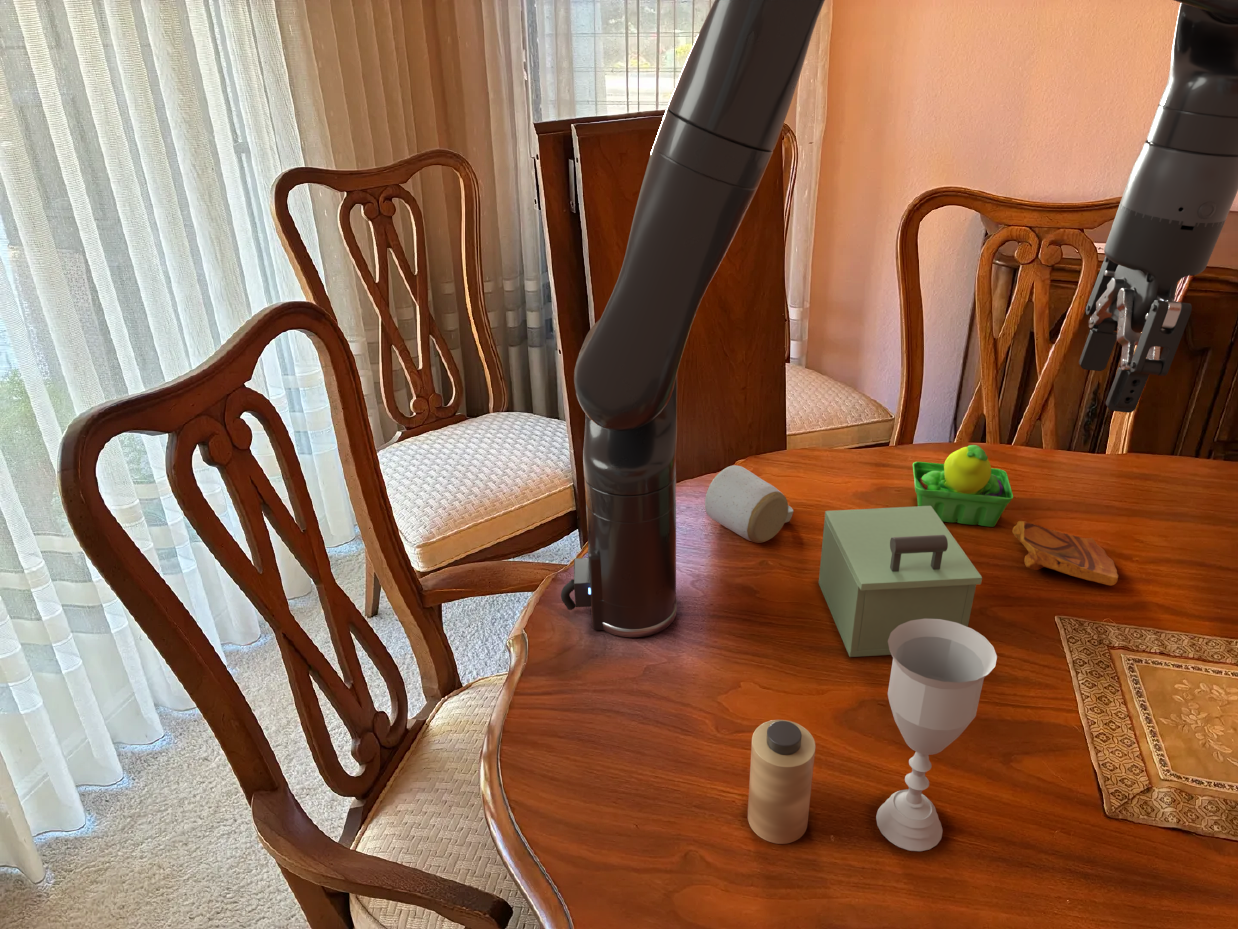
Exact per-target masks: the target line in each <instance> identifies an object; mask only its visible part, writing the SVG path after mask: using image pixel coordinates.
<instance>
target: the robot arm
mask: <svg viewBox="0 0 1238 929" xmlns="http://www.w3.org/2000/svg"><path fill="white" fill-rule="evenodd" d="M825 1H826V0H714V1H713V2H712V5H711V8H710V9H709V11H708V13H707V15H706V17H705V19H704V22H703V23H702V26H701V28H700V30H699V32H698V34H697V36H696V38H695V40H694V43H693V45H692V48H691V50H690V52H689V54H688V56H687V58H686V60H685V62H684V65H683V68H682V70H681V73H680V74H679V77H678V79H677V82H676V84H675V88H674V90H673V92H672V94H671V97H670V99H669V102H668V105H667V108H666V110H665V112H664V115H663V117H662V121H661V124H660V126H659V129H658V131H657V135H656V137H655V140H654V143H653V145H652V149H651V151H650V155H649V158H648V162H647V165H646V169H645V172H644V175H643V179H642V183H641V187H640V190H639V194H638V198H637V201H636V206H635V210H634V213H633V217H632V218H633V219H632V222H631V226H630V232H629V236H628V240H627V245H626V250H625V253H624V254H625V255H624V258H623V262H622V266H621V268H620V271H619V274H618V277H617V280H616V283H615V285H614V287H613V290H612V292H611V295H610V296H609V299H608V301H607V303H606V305H605V308H604V310H603V312H602V314H601V317H600V318H599V319H598V320H597V321H596V322H595V323H594V324H593V325H592V327H591V328H590V329H589V331H588V332H587V334H586V336H585V338H584V341H583V343H582V345H581V349H580V350H579V353H578V356H577V358H576V362H575V365H574V366H575V367H574V372H573V383H574V389H575V395H576V399H577V401H578V404H579V405H580V407H581V409H582V411H583V412H584V413H585V414H584V415H585V423H584V439H583V450H582V461H583V462H582V464H583V477H584V491H585V492H584V493H585V511H586V530H587V557H580V558H579V557H578V558H574V559H573V578H572V579H571V580H569V581H568V582H567V583H566V584H565V585H564V586H563V588H561V592H560V598H561V601H562V603H563V604H564V606H565V607H566V608H567V610H568V611H572V610H574V609H575V608H587V607H588V608H590V612H591V626H592V630H593V631H604V632H607V633H609V634H611V635H614V636H618V637H622V638H642V637H648V636H651V635H655V634H658V633H660V632H662V631H664V630H665V629H667V628H668V627H669V626H670V625H671V624H672V623H673V622H674V620H675V619H676V617H677V613H678V599H677V449H678V448H677V446H678V445H677V444H678V371H679V369H680V364H681V361H682V358H683V354H684V351H685V348H686V345H687V341H688V338H689V335H690V332H691V329H692V325H693V323H694V320H695V317H696V315H697V312H698V309H699V307H700V305H701V302H702V300H703V297H704V296H705V293H706V292H707V290H708V287H709V286H710V283H711V282H712V280H713V278H714V276H715V275H716V273H717V271H718V269H719V267H720V265H721V264H722V262H723V260H724V258H725V257H726V254H727V252H728V251H729V248H730V246H731V244H732V242H733V241H734V239H735V236H736V234H737V232H738V230H739V228H740V226H741V224H742V222H743V221H744V218H745V216H746V214H747V211H748V209H749V207H750V205H751V204H752V202H753V199H754V197H755V195H756V192H757V190H758V188H759V186H760V184H761V181H762V179H763V176H764V174H765V172H766V169H767V167H768V164H769V163H770V160H771V157H772V156H773V154H774V150H775V148H776V145H777V143H778V141H779V138H780V135H781V132H782V131H783V130H782V129H783V127H784V124H785V122H786V118H787V116H788V113H789V110H790V107H791V104H792V102H793V100H794V96H795V92H796V89H797V87H798V84H799V80H800V77H801V74H802V70H803V67H804V64H805V60H806V57H807V54H808V51H809V47H810V43H811V41H812V40H811V39H812V37H813V33H814V31H815V27H816V24H817V21H818V18H819V16H820V14H821V11H822V9H823V6H824V4H825ZM1173 1H1174V2H1178V3H1179V8H1178V12H1177V18H1176V24H1175V28H1174V36H1173V41H1172V46H1171V53H1170V63H1169V64H1170V65H1169V71H1168V75H1167V77H1168V78H1167V81H1166V84H1165V86H1164V89H1163V91H1162V93H1161V96H1160V99H1159V102H1158V104H1157V106H1156V110H1155V113H1154V115H1153V118H1152V121H1151V123H1150V127H1149V130H1148V133H1147V135H1146V140H1145V141H1144V143H1143V145H1142V148H1141V150H1140V152H1139V154H1138V156H1137V157H1136V160H1135V162H1134V164H1133V166H1132V168H1131V171H1130V174H1129V176H1128V179H1127V181H1126V184H1125V188H1124V190H1123V193H1122V197H1121V198H1120V202H1119V205H1118V207H1117V211H1116V214H1115V217H1114V219H1113V222H1112V225H1111V228H1110V231H1109V234H1108V237H1107V240H1106V242H1105V245H1104V248H1103V253H1104V255H1105V256H1104V259H1103V262H1102V264H1101V267H1100V271H1099V272H1098V275H1097V278H1096V280H1095V282H1094V286H1093V288H1092V290H1091V294H1090V296H1089V299H1088V301H1087V305H1086V306H1085V314H1086V315H1087V316H1088V315H1089V316H1090V318H1089V319H1088V327H1089V329H1090V330H1089V333H1088V335H1087V338H1086V342H1085V343H1084V347H1083V349H1082V352H1081V355H1080V358H1079V360H1078V364H1079V366H1080V368H1081V369H1083V370H1087V371H1094V372H1103V371H1104V370H1105V369H1106V368H1107V367H1108V363H1109V361H1110V357H1111V355H1112V353H1113V350H1114V348H1115V345H1116V342H1117V343H1118V344H1120V345H1121V347H1122V348H1121V357H1120V366H1119V367H1118V369H1117V372H1116V373H1115V377H1114V379H1113V382H1112V385H1111V387H1110V390H1109V391H1108V395H1107V398H1106V400H1105V406H1106V408H1107V409H1108V410H1109V411H1111V412H1119V413H1127V414H1130V413H1133V412H1135V410H1136V409H1137V406H1138V404H1139V401H1140V399H1141V397H1142V394H1143V392H1144V389H1145V387H1146V383H1147V382H1148V379H1149V377H1150V375H1152V376H1160V377H1165V376H1167V375H1168V373H1169V371H1170V368H1171V366H1172V363H1173V361H1174V358H1175V355H1176V353H1177V351H1178V348H1179V345H1180V342H1181V340H1182V337H1183V334H1184V332H1185V329H1186V327H1187V324H1188V321H1189V319H1190V316H1191V314H1192V310H1193V306H1192V304H1191V303H1188V302H1180V301H1176V300H1175V299H1176V293H1177V289H1178V283H1179V281H1181V280H1182V279H1184V278H1186V277H1193V276H1197V275H1199V274H1201V273H1202V272H1204V271H1205V270H1206V268H1207V266H1208V264H1209V262H1210V260H1211V257H1212V254H1213V252H1214V249H1215V247H1216V244H1217V242H1218V239H1219V237H1220V235H1221V232H1222V230H1223V228H1224V225H1225V223H1226V221H1227V218H1228V215H1229V213H1230V211H1231V208H1232V206H1233V205H1234V204H1233V203H1234V201H1235V199H1236V197H1237V194H1238V0H1173ZM1135 347H1136V348H1135ZM1161 348H1162V350H1161ZM573 591H574V592H573ZM572 592H573V593H574V600H573V598H572V597H571V593H572Z"/></svg>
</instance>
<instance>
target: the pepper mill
mask: <svg viewBox="0 0 1238 929" xmlns="http://www.w3.org/2000/svg"><path fill="white" fill-rule="evenodd" d="M816 747H817V746H816V741H815V738H814V736H813V735H812V734H811V732H810V731H809V730H808V729H807V728H805V727H804V726H802V725H801V724H800V723H797V722H795V721H791V720H786V719H772V720H768V721H765V722H763V723H761V724H760V725H759V726H757V727H756V728H755V730H754V732H753V734H752V736H751V749H750V766H749V782H748V783H749V784H748V802H747V821H748V824H749V827H750V828H751V830H752V831H753V832H754V833H755V834H756V835H757V836H758V837H759V838H761V839H762V840H764V841H767V842H769V843H773V844H777V845H787V844H790V843H794V842H796V841H798V840H799V839H801V838H802V837H803V836H804V835H805V833H806V831H807V829H808V824H809V823H808V822H809V816H810V815H809V813H810V804H811V794H812V786H813V785H812V784H813V775H814V768H815V757H816Z"/></svg>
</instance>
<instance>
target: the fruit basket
mask: <svg viewBox="0 0 1238 929" xmlns="http://www.w3.org/2000/svg"><path fill="white" fill-rule="evenodd" d="M988 458H989V457H988V455H987V453H986V451H985V450H984V449H983V448H982V447H981V446H979V445H977V444H969V445H968V446H964V447H961V448H959V449H957V450H955V451H953V452H951V453H950V454H949V455H948V456H947V458H946V459H945V461H944V463H939V462H938V463H937V462H928V461H927V462H926V461H914V462H913V463H912V472H913V480H914V482H913V483H914V491H915V494H916V501H917V506H932V508H933V509H934V511H935V512H936V513H937V515H938V516H939V518H940V519H941V521H942V522H943V523H951V524H954V523H957V524H960V525H961V524H962V525H969V526H970V525H971V526H982V527H989V528H994V527H995V526H996V525H997V523H998V521H999V520H1000V517H1001V516H1002V514H1003V513H1004V511H1005V509H1006V507H1007V506H1008V505H1009V504H1010V503H1011V501H1012V500H1013V499H1014V494H1013V490H1012V487H1011V486H1012V485H1011V483H1010V480H1009V476H1008V473H1007V472H1006V470H1004V469H1001V468H996V467H995V468H994V467H992V465H991V462H990V461H989V459H988Z"/></svg>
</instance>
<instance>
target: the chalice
mask: <svg viewBox="0 0 1238 929" xmlns="http://www.w3.org/2000/svg"><path fill="white" fill-rule="evenodd" d="M888 645H889V650H890V653H891V655H890V656H891V657H892V663H891V670H890V676H889V683H888V690H887V698H888V702H889V706H890V710H891V713H892V716H893V720H894V722H895V724H896V726H897V728H898V730H899V732H900V734H901V736H902V738H903V740H904V742H905V743H906V745H907V746H908V747H909V748H910V749H911V750H912V751H915V753H914V754H913V756H912V757H910V758H909V759H908V765H909V767H910V768H911V772H909V773H906V775H905V776H904V782H905V784H906V785H907V787H908V789H907V788H905V789H901V790H897V791H895V792H894V793H892V794H891V795H890V796H889V798H887V799H886V800H885V802H883V803H881V805H880V806H879V808H878V809H877V812H876V816H875V820H876V826H877V828H878V829H879V831H880V834H881V835H882V836H883V837H885V839H886V840H887V841H888V842H890V843H891V844H893V845H895V846H896V847H897V848H901V849H903V850H907V851H911V852H923V851H928V850H931V849H932V848H934V847H936V846H938V844H939V843H940V842H941V840H942V837H943V831H944V830H943V827H942V822H941V820H940V819H939V814H938V813H937V809H936V807H935V805H934V803H933V802H932V800H930V799H929V797H927V796H926V795H925V794H923V791H925V790H926V789H928V788H929V787H930V781H929V779H928V777H927V776H926V773H927V772H928V771H930V770H931V769H932V762H931V761H930V756H931V755H937V754H939V753H941V752H942V751H944V750H945V749H946V748H948V747H949V745H951V744H952V743H954V741H956V740H957V739H958V738H959V737H960V736H961V735H962V734H963V733H964V732H965V730H967V728H968V726H969V725H970V724H971V723H972V721H973V720H974V719H975V718H976V717H977V711H978V708H979V703H980V698H981V695H982V694H981V693H982V688H983V685H984V680H985V678H986V677H987V676H989V674H990V673H991V672H992V671H993V670H994V668H995V667H996V664H997V659H998V655H997V652H996V650H995V647H994V645H993V644H991V642H990V641H989V640H988V639H987V638H986V637H985V636H984V635H982V634H981V633H980V632H978V631H977V630H975V629H973V628H972V627H969V626H968V627H966V626H964V625H961V624H959V623H956V622H951V621H947V620H942V619H918V620H911V621H908V622H906V623H903V624H901V625H899V626H898V627H896V628H895V629H894V630H893V631H892V632H891V634H890V636H889V639H888Z"/></svg>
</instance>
